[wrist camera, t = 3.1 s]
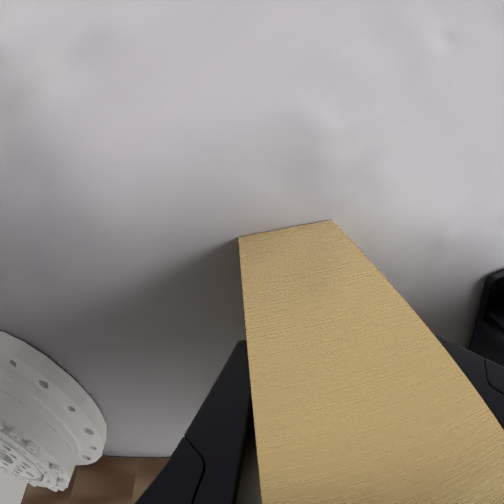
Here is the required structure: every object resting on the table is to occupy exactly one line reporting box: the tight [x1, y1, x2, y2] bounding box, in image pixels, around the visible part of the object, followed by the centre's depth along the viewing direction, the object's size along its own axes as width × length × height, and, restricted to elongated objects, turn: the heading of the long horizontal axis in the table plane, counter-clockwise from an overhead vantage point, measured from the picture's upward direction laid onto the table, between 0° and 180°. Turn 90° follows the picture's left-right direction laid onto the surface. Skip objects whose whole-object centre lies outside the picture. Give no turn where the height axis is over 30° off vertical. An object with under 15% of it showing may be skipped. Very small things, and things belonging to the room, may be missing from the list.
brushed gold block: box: [238, 220, 504, 504], centre depth 6 cm, size 3×4×10 cm
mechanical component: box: [0, 331, 107, 492], centre depth 11 cm, size 10×4×10 cm
